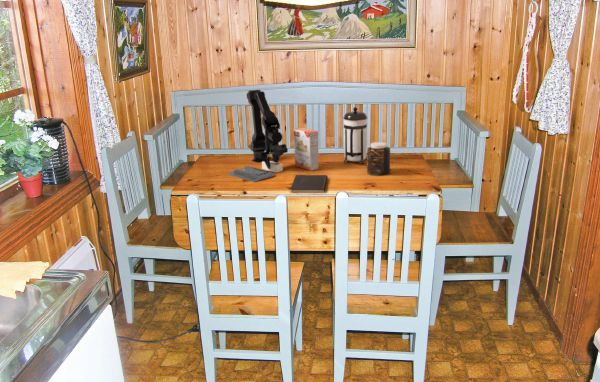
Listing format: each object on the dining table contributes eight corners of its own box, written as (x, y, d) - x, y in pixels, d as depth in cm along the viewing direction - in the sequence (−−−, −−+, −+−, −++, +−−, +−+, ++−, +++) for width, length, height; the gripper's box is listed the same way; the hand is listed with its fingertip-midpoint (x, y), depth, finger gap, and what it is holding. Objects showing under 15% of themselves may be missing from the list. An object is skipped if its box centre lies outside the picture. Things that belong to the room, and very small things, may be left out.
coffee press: (335, 160, 312) (334, 107, 302) (360, 156, 318) (360, 104, 309) (350, 167, 297) (350, 111, 287) (376, 163, 303) (377, 108, 294)
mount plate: (228, 174, 293) (227, 169, 292) (249, 168, 302) (248, 164, 301) (254, 182, 278) (253, 176, 277) (275, 175, 287) (274, 170, 286)
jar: (389, 176, 280) (389, 146, 276) (366, 175, 282) (366, 146, 278) (390, 169, 291) (391, 141, 286) (368, 169, 293) (368, 141, 289)
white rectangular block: (262, 169, 302) (261, 161, 300) (267, 167, 304) (267, 159, 303) (277, 172, 293) (276, 165, 292) (282, 171, 296) (282, 163, 295)
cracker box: (294, 166, 303) (292, 128, 297) (303, 164, 307) (302, 126, 300) (310, 171, 293) (309, 132, 286) (319, 169, 296) (318, 130, 290)
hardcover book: (290, 193, 260) (290, 189, 260) (295, 179, 282) (295, 175, 281) (324, 193, 259) (324, 189, 258) (327, 179, 280) (327, 174, 280)
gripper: (267, 144, 282) (269, 174, 287) (294, 138, 294) (295, 166, 299) (253, 141, 290) (255, 170, 295) (279, 135, 302) (281, 163, 307)
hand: (272, 167), depth 298 cm, fingers open, 4 cm apart
